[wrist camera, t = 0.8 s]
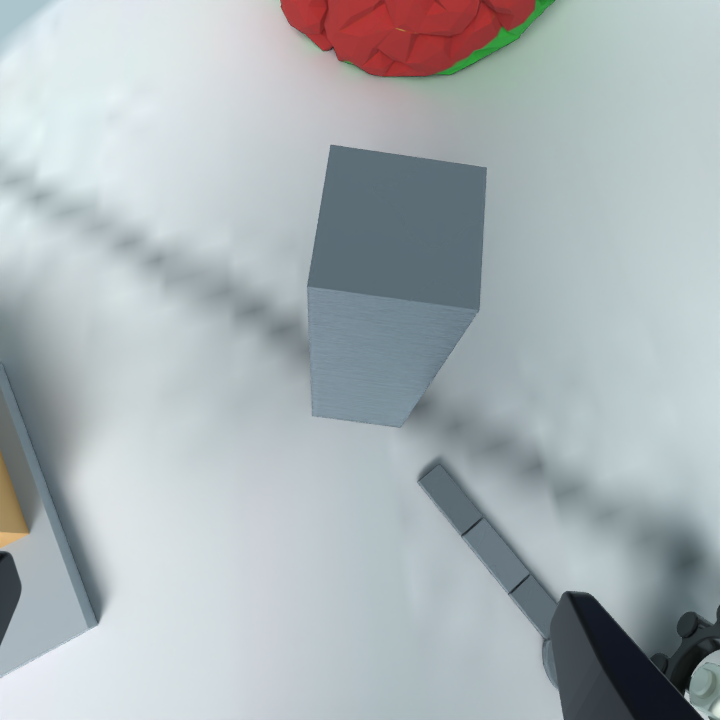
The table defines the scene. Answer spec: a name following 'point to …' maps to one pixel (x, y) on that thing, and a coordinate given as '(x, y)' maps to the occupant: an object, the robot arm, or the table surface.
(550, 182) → the table surface
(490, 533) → the grey grooved bar
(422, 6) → the brain model
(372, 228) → the rectangular block
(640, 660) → the robot arm
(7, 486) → the keeper bracket
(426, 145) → the table surface
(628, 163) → the table surface
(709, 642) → the valve
